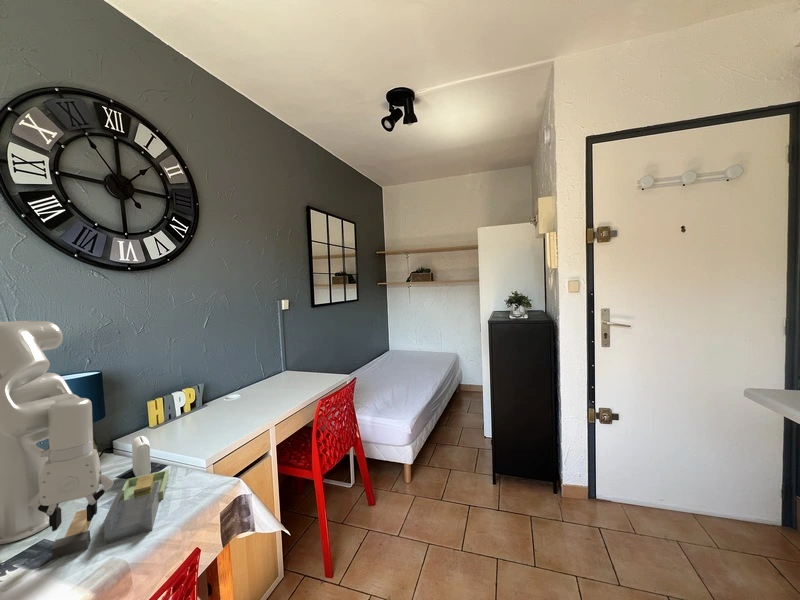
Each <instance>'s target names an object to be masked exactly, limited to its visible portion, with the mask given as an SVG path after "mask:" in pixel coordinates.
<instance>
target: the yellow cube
mask: <svg viewBox="0 0 800 600" xmlns="http://www.w3.org/2000/svg"><path fill="white" fill-rule="evenodd" d="M148 480H153V485H154V482H155V475H154V474H151V473H150V475H145V476H141V477H139V478H138V480H137V482H136V484H137V483H140V482H144V481H148Z"/></svg>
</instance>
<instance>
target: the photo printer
mask: <svg viewBox="0 0 800 600" xmlns="http://www.w3.org/2000/svg"><path fill="white" fill-rule="evenodd" d="M131 456H132V457H131V458H132V459H131V461H132V472H133V474H134V476H135V477H139V476H143V475H147V474H151V471H152V469H151V468H152V467H151V445H150V442H149V439H148V438H147V437H146V436H143V435H140V436H136V437H135V438H134V439H133V440H132V441H131Z"/></svg>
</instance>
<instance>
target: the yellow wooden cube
mask: <svg viewBox="0 0 800 600" xmlns="http://www.w3.org/2000/svg"><path fill="white" fill-rule="evenodd" d="M152 488H153V480H148V481H144V482H140V483H137V484H136V486H135V489H134V497H137V496H141V495H144V494H148V493H151V491H152Z"/></svg>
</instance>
